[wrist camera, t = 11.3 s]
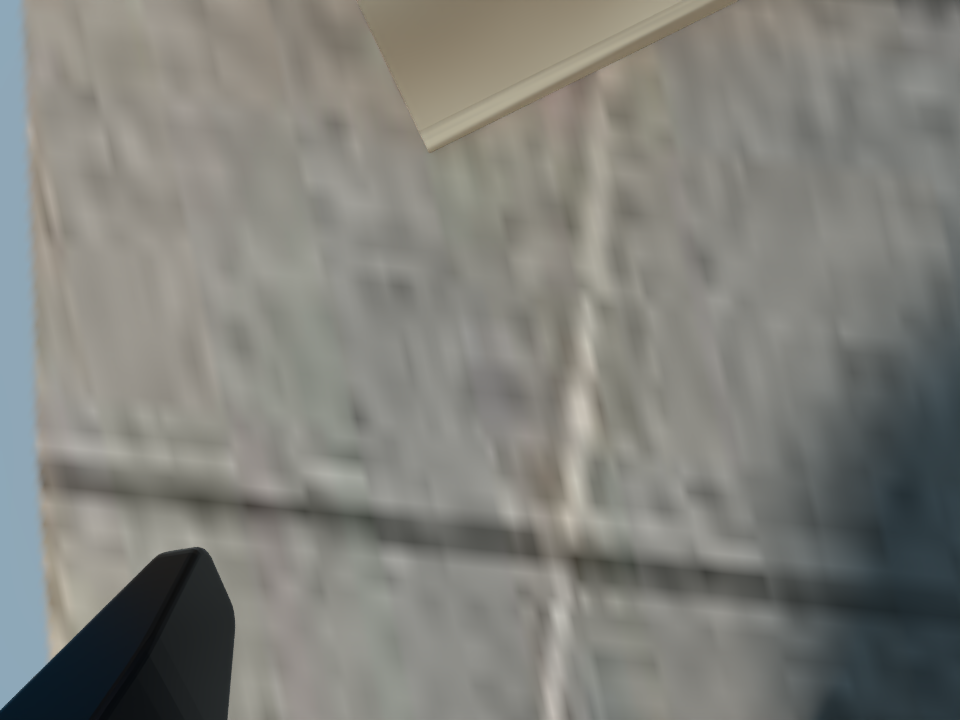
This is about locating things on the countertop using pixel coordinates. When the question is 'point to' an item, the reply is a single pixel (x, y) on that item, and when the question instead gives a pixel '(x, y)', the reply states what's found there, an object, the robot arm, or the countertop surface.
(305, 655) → the countertop surface
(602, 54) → the socket block
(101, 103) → the countertop surface
